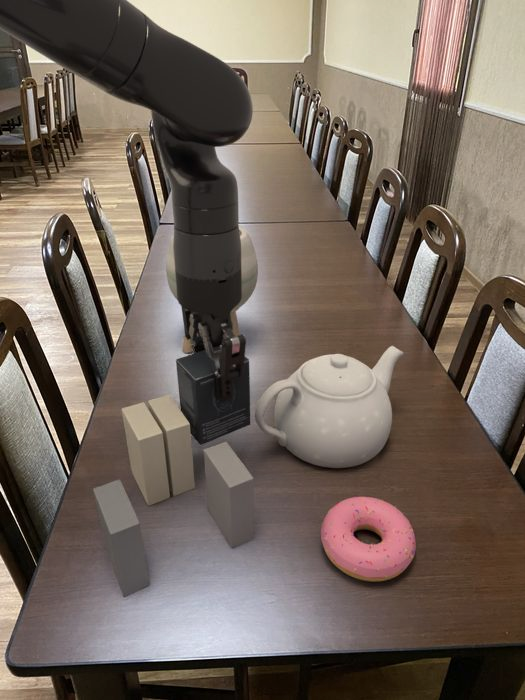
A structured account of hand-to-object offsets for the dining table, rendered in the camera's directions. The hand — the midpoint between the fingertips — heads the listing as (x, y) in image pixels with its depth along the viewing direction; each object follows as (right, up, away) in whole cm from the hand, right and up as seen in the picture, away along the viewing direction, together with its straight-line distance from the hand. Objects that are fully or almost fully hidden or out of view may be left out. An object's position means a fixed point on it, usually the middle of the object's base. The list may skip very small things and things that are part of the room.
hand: (213, 385), depth 69 cm
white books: (-7, -13, +3) cm, 15 cm away
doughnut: (+19, -19, -6) cm, 27 cm away
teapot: (+16, -8, +12) cm, 22 cm away
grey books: (-3, -19, -6) cm, 20 cm away
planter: (-3, +5, +34) cm, 34 cm away
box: (0, -6, +4) cm, 7 cm away
